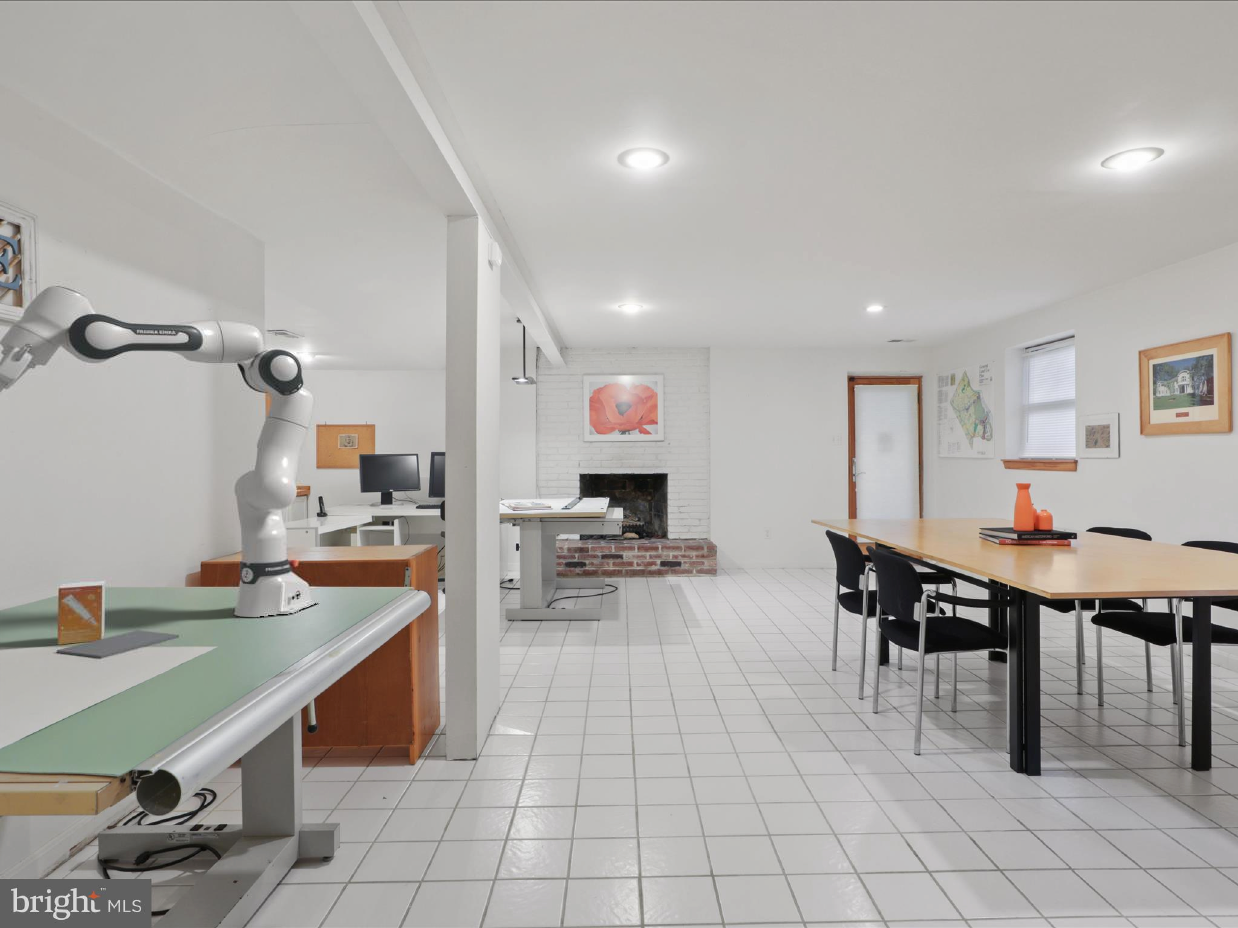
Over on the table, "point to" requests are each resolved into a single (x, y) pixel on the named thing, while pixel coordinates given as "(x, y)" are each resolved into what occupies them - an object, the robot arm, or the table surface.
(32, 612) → the table surface
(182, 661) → the table surface
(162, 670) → the table surface
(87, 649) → the mat
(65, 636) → the small box
